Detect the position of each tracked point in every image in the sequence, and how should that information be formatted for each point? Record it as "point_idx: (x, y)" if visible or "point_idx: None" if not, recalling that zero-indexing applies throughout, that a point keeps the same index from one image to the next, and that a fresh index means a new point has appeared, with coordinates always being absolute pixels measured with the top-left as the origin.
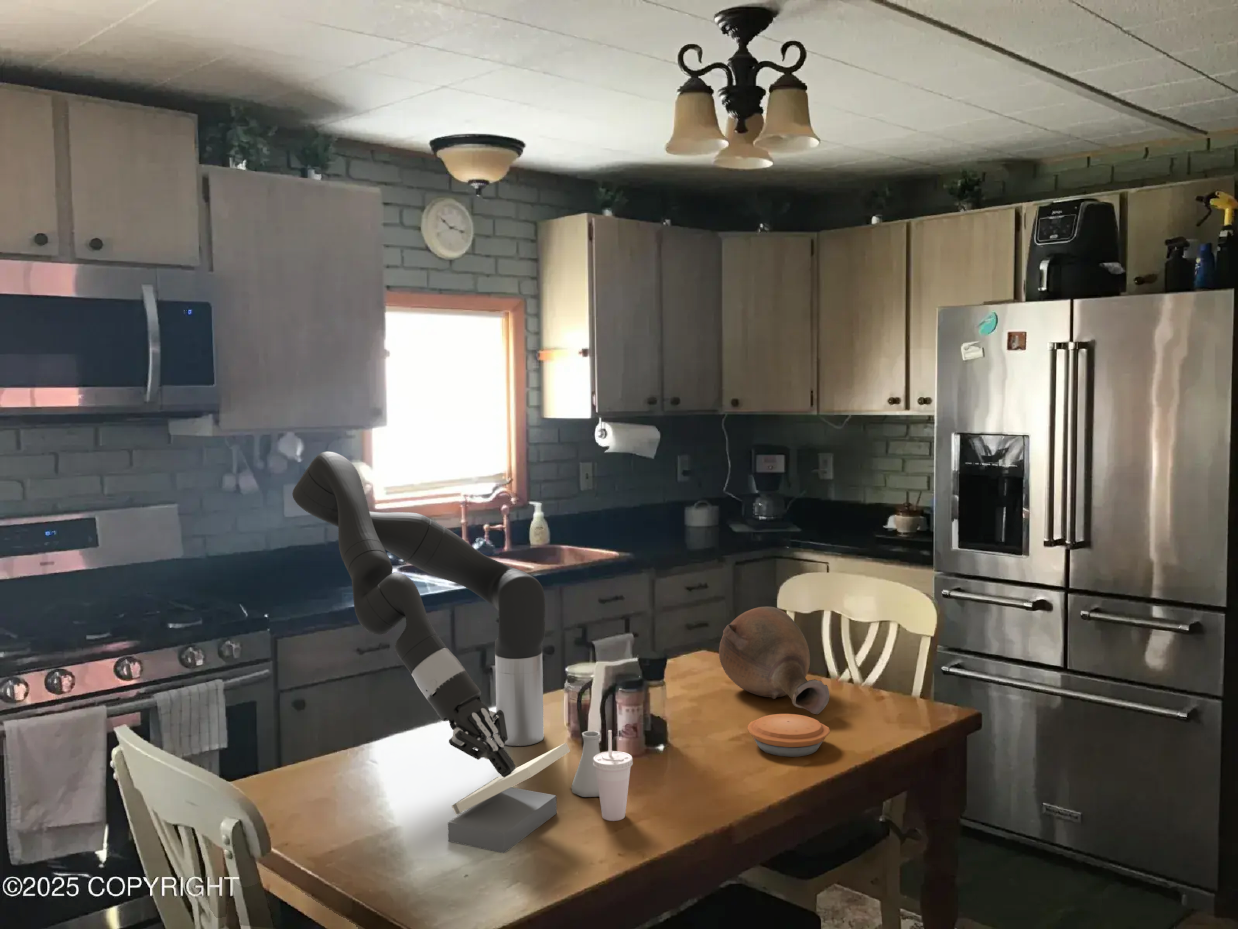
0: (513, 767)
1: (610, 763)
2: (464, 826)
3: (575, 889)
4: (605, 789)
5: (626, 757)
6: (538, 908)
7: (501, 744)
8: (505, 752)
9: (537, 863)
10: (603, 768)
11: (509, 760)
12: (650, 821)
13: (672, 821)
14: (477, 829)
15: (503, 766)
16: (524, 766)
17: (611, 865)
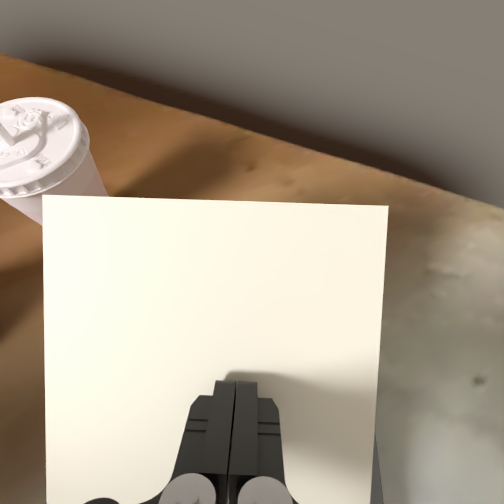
0: (233, 381)
1: (67, 129)
2: (382, 499)
3: (393, 180)
4: (99, 193)
5: (12, 109)
6: (477, 201)
7: (195, 488)
8: (207, 445)
9: None
10: (84, 151)
11: (226, 406)
12: (105, 169)
13: (97, 141)
14: (374, 443)
15: (276, 412)
16: (231, 322)
17: (293, 165)
